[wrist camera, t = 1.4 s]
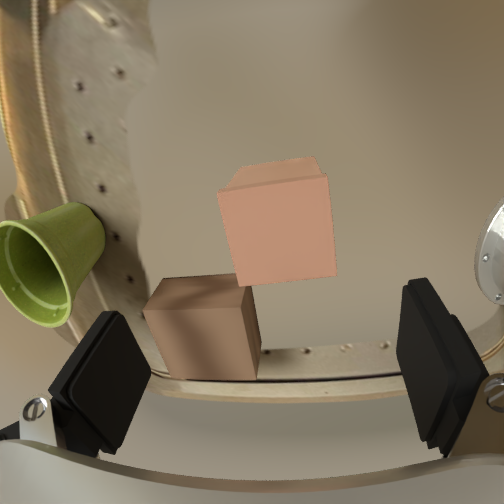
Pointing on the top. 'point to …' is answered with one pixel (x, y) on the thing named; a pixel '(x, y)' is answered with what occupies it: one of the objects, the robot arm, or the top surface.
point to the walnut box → (205, 327)
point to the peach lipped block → (279, 222)
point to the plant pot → (49, 260)
